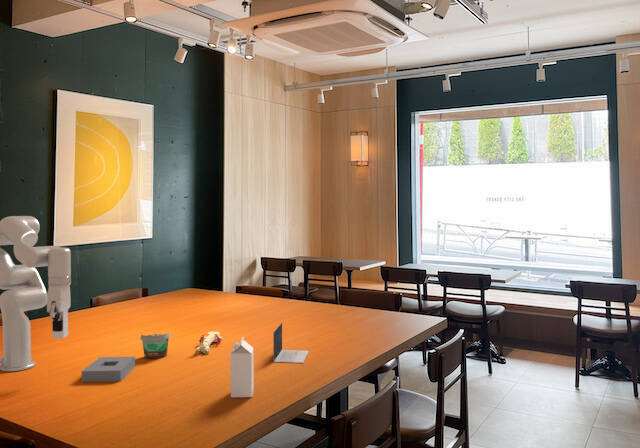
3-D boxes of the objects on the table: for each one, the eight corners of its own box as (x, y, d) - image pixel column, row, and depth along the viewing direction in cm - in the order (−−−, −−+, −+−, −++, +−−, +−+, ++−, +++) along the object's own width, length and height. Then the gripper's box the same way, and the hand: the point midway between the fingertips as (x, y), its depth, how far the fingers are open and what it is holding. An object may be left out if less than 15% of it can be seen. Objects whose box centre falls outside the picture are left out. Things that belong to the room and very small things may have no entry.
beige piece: (213, 357, 228) (225, 338, 253) (212, 338, 227) (225, 321, 252) (190, 357, 228) (205, 338, 253) (190, 338, 227) (204, 320, 252)
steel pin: (52, 338, 193) (52, 308, 192) (57, 335, 197) (56, 306, 196) (63, 338, 193) (63, 308, 193) (68, 335, 197) (67, 306, 197)
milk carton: (253, 390, 183) (253, 336, 182) (251, 397, 176) (251, 341, 175) (233, 390, 183) (233, 336, 182) (230, 398, 176) (230, 341, 175)
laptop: (303, 364, 214) (303, 332, 214) (273, 363, 216) (272, 332, 215) (308, 352, 232) (308, 323, 232) (281, 351, 234) (281, 322, 233)
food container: (139, 361, 218) (139, 337, 218) (140, 356, 224) (140, 333, 224) (170, 358, 221) (170, 335, 221) (170, 354, 227) (170, 331, 227)
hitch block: (81, 382, 192) (81, 371, 192) (99, 367, 210) (99, 357, 210) (120, 381, 193) (120, 370, 192) (135, 366, 210) (135, 356, 210)
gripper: (59, 277, 202) (59, 324, 203) (38, 284, 186) (39, 335, 186) (79, 277, 203) (79, 324, 203) (60, 284, 186) (60, 335, 187)
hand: (60, 329), depth 195 cm, fingers closed on steel pin, 4 cm apart
